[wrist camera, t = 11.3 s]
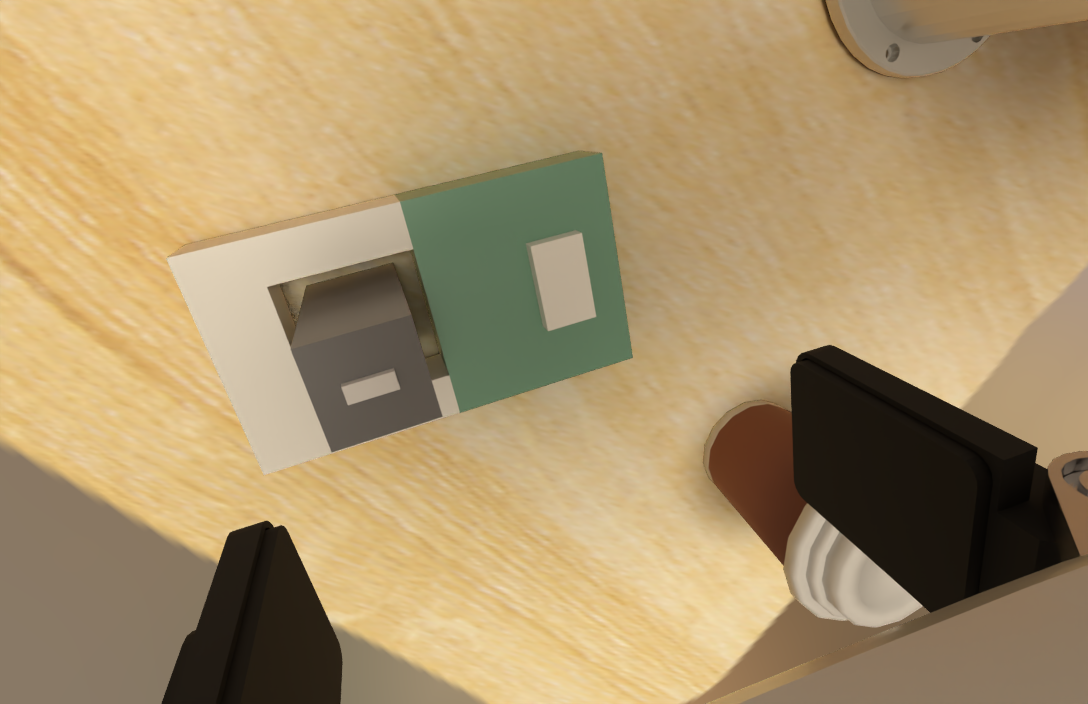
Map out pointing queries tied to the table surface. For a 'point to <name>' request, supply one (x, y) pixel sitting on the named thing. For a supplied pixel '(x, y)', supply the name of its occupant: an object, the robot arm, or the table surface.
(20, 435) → the table surface
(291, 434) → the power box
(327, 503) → the table surface
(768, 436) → the coffee cup
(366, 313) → the grey square peg
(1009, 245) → the table surface
